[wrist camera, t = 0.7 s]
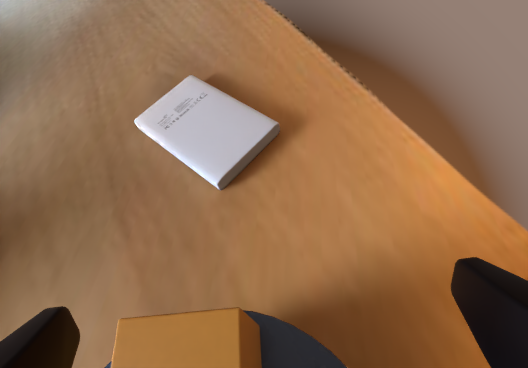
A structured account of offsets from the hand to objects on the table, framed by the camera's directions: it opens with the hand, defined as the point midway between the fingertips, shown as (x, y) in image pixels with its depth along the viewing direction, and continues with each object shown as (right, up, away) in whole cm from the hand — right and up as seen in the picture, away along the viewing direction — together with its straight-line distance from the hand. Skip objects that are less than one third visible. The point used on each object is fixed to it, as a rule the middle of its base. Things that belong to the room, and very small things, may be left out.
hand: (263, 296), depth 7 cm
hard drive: (-6, +8, +25) cm, 26 cm away
